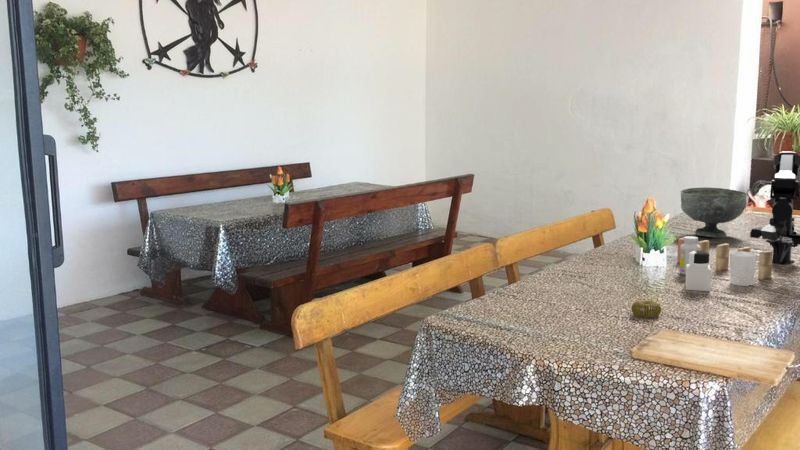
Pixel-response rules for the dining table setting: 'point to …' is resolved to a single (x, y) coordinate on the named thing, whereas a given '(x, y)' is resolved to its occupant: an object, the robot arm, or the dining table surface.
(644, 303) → the olive green ribbed ring
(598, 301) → the dining table surface
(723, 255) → the domino
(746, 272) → the white cup
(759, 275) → the domino
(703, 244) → the domino
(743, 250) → the domino
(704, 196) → the decorative bowl
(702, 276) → the medicine bottle
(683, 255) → the supplement bottle
